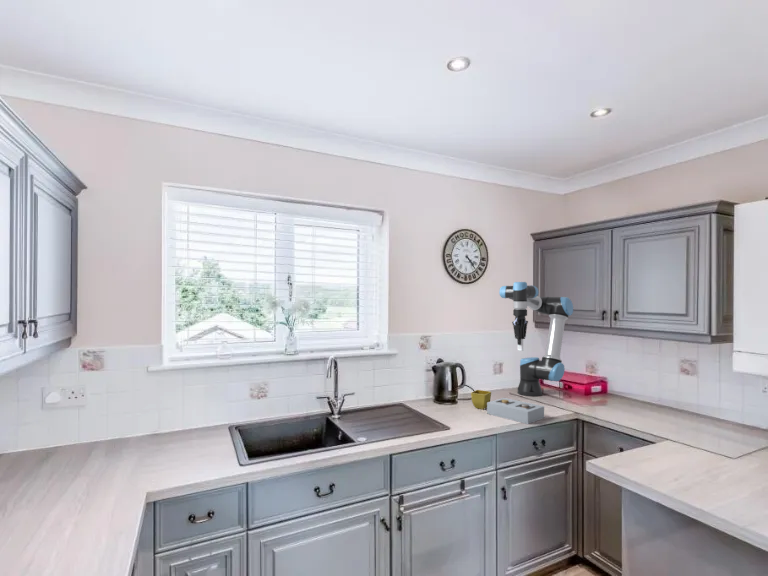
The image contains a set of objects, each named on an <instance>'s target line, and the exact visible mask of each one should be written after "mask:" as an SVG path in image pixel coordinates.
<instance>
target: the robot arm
mask: <svg viewBox="0 0 768 576" xmlns="http://www.w3.org/2000/svg"><path fill="white" fill-rule="evenodd" d="M539 293H540V292H539V289H538V287H537V286H535V285H530V284H529V285H528V283H527V282H526V281H514V282H513V285H502V286H501V287H500V288H499V296H500V298H501V299H509V300H512V301H513V303H512V304H513V305H512V306H513V314H512V315H513V317H514V321H512V322H511V323H512V326H513V333H514V338H515V339H516V340H517V351H520V352H521V351H522V352H523V351H524V340H525V339H526V338H527V328H528V324H529V321H528V320H526V317H527V316H528V308H529V310H532V311H535V312H536V313H539V314H543V315H548V317H549V318H550V320H549V321H550V323H549V329H548V335H547V340H546V348H545V353H544V355H542V356H541V359H540V358H539V357H533V356H532V357H524V358H521V359H520V360H519V361H520V363H519V376H520V377H519V378H520V379H519V383H518V386H517V389H516V390H517V391H516V392H517V394H518V395H521V396H525V395H526V396H525V397H540V396H542V395H543V390H542V386H541V383H540V380H544V381H550V382H559V381H561V380H562V379H563V377H564V375H565V364H564V363H563V362H562V359H561V353H562V352H561V350H562V343H563V337H564V330H565V324H566V321H567V320H569V317H570V316H572V315H573V313H574V306H573V305H574V304H573V302H572V300H571V299H570V297H566V296H539Z"/></svg>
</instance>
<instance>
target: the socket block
mask: <svg viewBox="0 0 768 576" xmlns="http://www.w3.org/2000/svg"><path fill="white" fill-rule="evenodd" d="M502 400H509V403H506V404H505V403H502ZM522 404H528V405H529V408H523V407H522ZM486 414H487V415H491V416H495V417H497V418H502V419H507V420H511V421H514V422H518V423H521V424H522V423H523V424H525V425H526V424H527V425H529V424H532V423H534V422H537V421H540V420H543V419H545V406H544V405H540V404H537V403H531V402H526V401H522V400H516V399H511V398H506V397H502V398H498V399H495V400H490V402H487V408H486Z"/></svg>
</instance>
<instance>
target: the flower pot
mask: <svg viewBox="0 0 768 576" xmlns="http://www.w3.org/2000/svg"><path fill="white" fill-rule="evenodd" d="M470 396H471V397H470V398H471V403H472V405H473V406H474V408H475V409H480V410H485V409H487V402H491V397H492V391H489V390H481V389H476V390H474V391H472V392H470Z"/></svg>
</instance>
